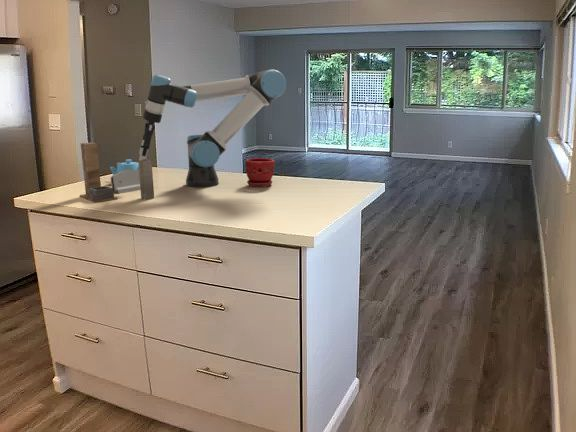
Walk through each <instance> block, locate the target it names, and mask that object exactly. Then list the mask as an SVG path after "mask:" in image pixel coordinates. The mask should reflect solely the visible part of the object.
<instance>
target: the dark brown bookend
mask: <svg viewBox="0 0 576 432" xmlns="http://www.w3.org/2000/svg"><path fill="white" fill-rule="evenodd" d="M80 151H81V161H82V170H83V181H84V189H85V194H80V195H79V197H81V198H83V199H86V200H88V201H91V202H92V203H93V202H94V203H101V202H108V201H112V200H115V201H116V200H118V197H117V196H115V192H114V191H113V188H112V186H111V187H110V186H107V185H102V184H101V173H100V163H99V151H98V143H97V142H81V143H80Z"/></svg>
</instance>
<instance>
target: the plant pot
mask: <svg viewBox="0 0 576 432" xmlns="http://www.w3.org/2000/svg"><path fill="white" fill-rule="evenodd" d="M265 169H266V170H265ZM274 169H275V160H274V159H272V158H247V159H245V172H246V177H247V179H248V180H247V181H246V182H247V185H248V186H251V187H253V188H256V187H257V188H258V187H259V188H260V187H262V188H263V187H264V186H265V187H269V186H271V185H272V183H273V180H272V179H273V175H274V171H275V170H274Z"/></svg>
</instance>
